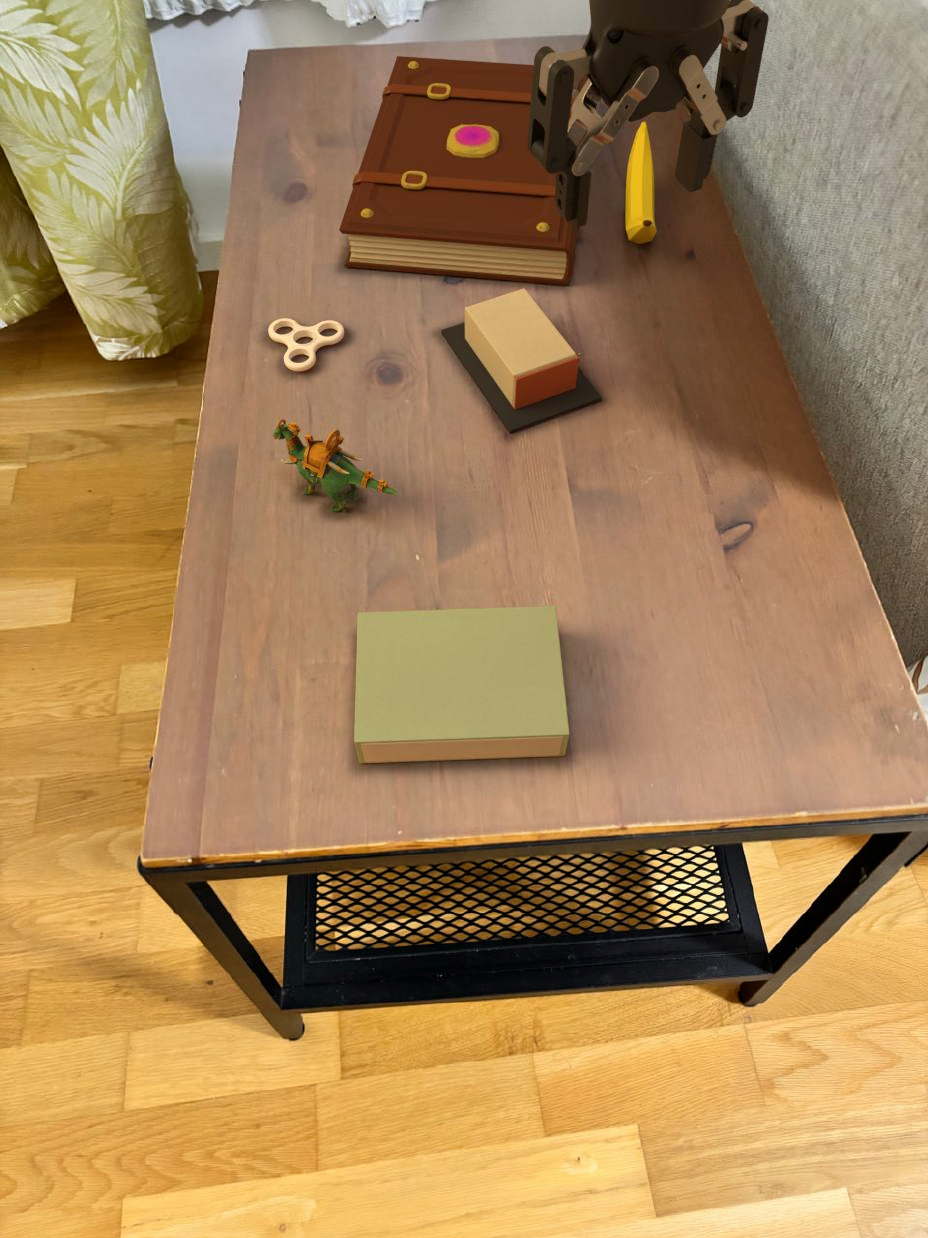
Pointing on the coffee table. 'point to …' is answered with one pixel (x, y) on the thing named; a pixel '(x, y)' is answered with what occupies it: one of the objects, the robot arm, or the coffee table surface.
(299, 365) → the fidget spinner
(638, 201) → the banana
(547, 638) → the bottom book
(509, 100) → the book
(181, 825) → the coffee table surface
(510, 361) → the top book
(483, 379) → the felt pad
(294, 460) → the figurine
